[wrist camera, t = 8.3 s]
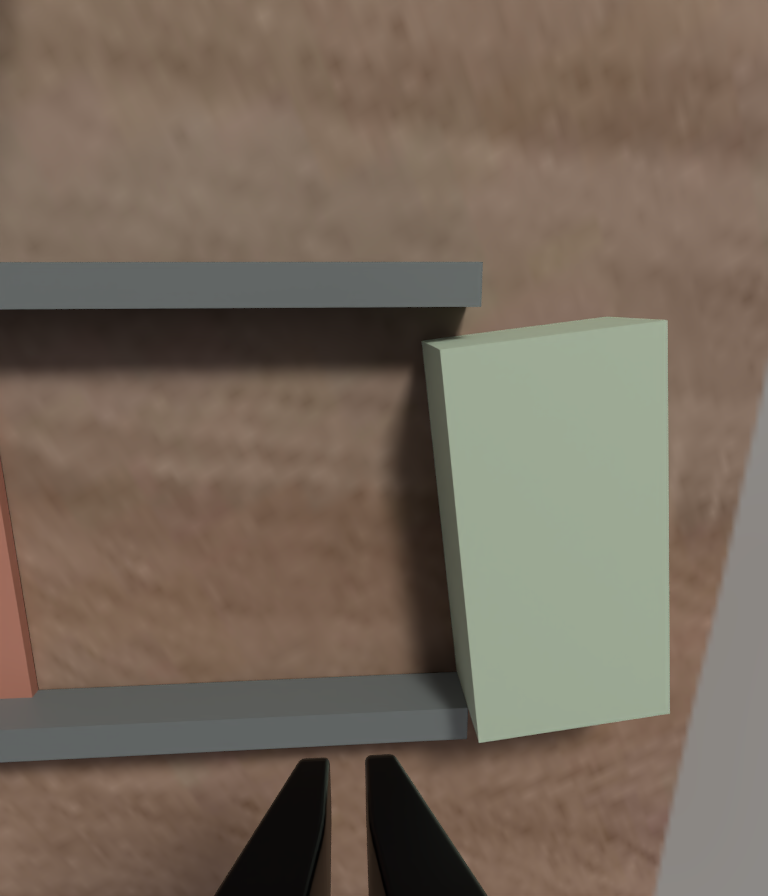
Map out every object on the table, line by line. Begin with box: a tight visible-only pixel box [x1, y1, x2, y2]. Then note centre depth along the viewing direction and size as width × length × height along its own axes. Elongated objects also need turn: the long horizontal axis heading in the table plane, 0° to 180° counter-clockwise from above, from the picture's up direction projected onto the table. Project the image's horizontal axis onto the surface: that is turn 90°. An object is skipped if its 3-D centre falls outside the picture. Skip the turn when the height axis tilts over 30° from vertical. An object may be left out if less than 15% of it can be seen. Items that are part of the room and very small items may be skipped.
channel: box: [0, 262, 483, 762], centre depth 19 cm, size 19×15×2 cm
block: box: [422, 317, 670, 743], centre depth 19 cm, size 6×12×4 cm, turn 7°
